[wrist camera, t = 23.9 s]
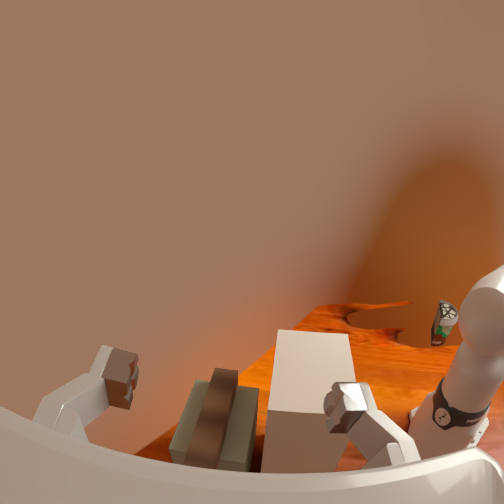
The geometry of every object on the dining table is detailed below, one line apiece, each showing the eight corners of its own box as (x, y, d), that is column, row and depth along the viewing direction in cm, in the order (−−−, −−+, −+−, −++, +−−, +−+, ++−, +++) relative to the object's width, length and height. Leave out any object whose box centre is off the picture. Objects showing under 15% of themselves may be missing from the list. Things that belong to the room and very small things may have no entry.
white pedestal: (317, 502, 39) (360, 414, 29) (257, 498, 40) (267, 409, 30) (318, 437, 52) (347, 334, 43) (267, 433, 53) (278, 329, 44)
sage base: (243, 504, 39) (245, 462, 33) (184, 493, 40) (168, 448, 34) (255, 442, 51) (258, 388, 45) (203, 434, 53) (196, 379, 47)
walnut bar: (209, 501, 27) (206, 492, 26) (179, 495, 27) (175, 485, 26) (237, 384, 46) (237, 370, 45) (215, 381, 47) (215, 367, 45)
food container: (449, 352, 74) (461, 323, 70) (430, 348, 76) (441, 319, 73) (448, 330, 84) (457, 303, 80) (431, 326, 86) (440, 298, 83)
